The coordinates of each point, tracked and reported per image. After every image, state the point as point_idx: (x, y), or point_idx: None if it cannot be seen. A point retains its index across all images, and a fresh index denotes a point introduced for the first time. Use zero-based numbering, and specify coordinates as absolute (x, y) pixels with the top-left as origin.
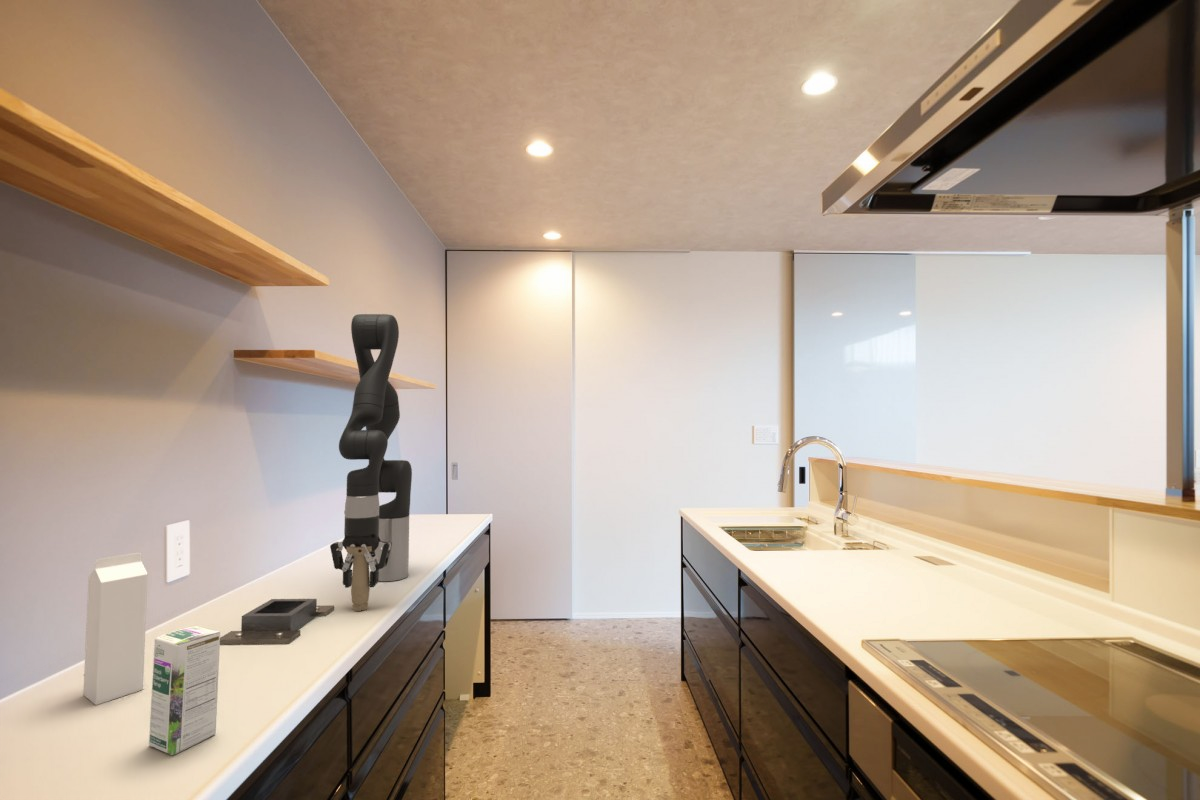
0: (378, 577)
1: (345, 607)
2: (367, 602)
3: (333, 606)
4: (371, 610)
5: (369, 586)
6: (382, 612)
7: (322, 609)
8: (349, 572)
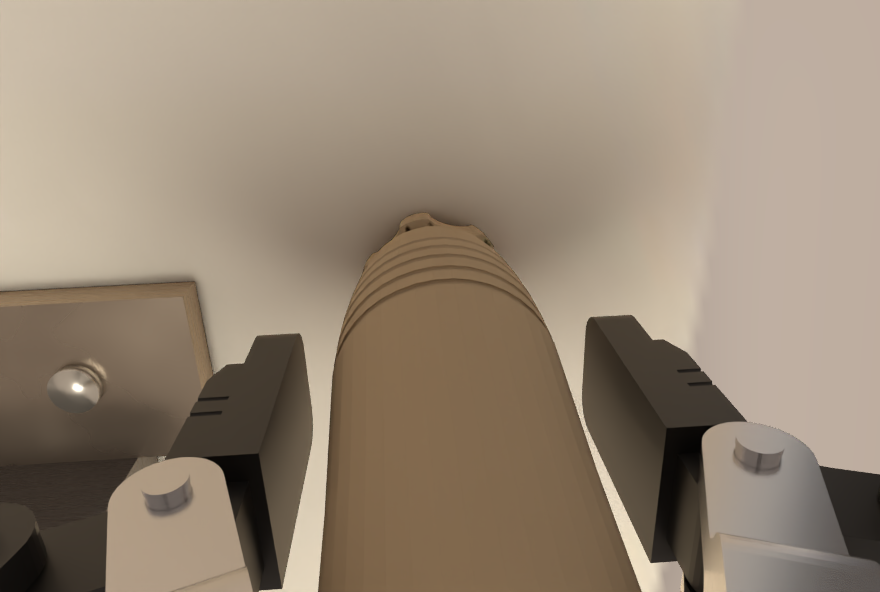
0: (707, 383)
1: (262, 212)
2: (487, 242)
3: (186, 308)
4: (541, 283)
5: (534, 304)
6: (651, 326)
7: (146, 402)
8: (279, 536)
